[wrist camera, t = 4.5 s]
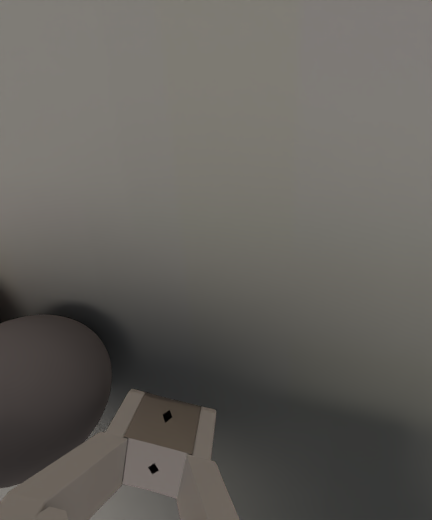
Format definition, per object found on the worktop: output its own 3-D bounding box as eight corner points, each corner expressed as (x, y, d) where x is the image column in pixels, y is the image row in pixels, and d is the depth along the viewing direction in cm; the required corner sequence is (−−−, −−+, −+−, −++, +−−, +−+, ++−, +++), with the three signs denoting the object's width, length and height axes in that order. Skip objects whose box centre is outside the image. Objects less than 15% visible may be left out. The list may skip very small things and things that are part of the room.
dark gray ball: (-161, 351, 6) (36, 282, 11) (-109, 494, 7) (44, 377, 12) (3, 419, 5) (140, 309, 9) (26, 570, 6) (135, 409, 11)
